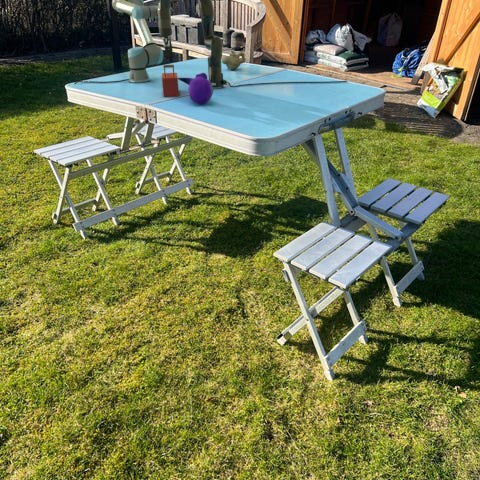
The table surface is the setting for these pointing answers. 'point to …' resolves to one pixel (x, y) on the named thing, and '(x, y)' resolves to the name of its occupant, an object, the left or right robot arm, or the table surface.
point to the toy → (199, 88)
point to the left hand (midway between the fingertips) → (169, 60)
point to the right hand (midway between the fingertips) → (167, 55)
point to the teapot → (233, 60)
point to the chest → (170, 88)
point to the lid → (169, 75)
